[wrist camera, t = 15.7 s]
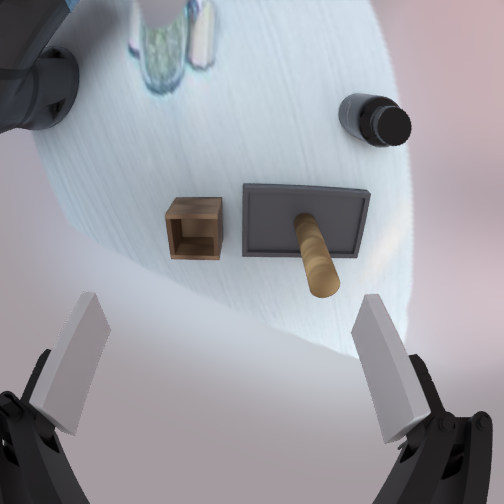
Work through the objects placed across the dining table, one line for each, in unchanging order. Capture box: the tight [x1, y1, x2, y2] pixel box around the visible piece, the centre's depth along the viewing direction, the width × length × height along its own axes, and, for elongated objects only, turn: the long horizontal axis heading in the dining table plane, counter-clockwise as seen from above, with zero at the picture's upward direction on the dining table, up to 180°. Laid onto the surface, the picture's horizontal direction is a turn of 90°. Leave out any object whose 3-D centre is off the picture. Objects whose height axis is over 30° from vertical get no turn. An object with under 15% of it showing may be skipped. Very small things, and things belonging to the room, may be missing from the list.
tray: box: [242, 184, 371, 258], centre depth 45 cm, size 20×12×2 cm, turn 89°
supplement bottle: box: [339, 94, 411, 147], centre depth 31 cm, size 7×7×12 cm
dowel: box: [294, 213, 340, 298], centre depth 38 cm, size 4×4×16 cm
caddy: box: [165, 197, 223, 260], centre depth 43 cm, size 7×7×6 cm
